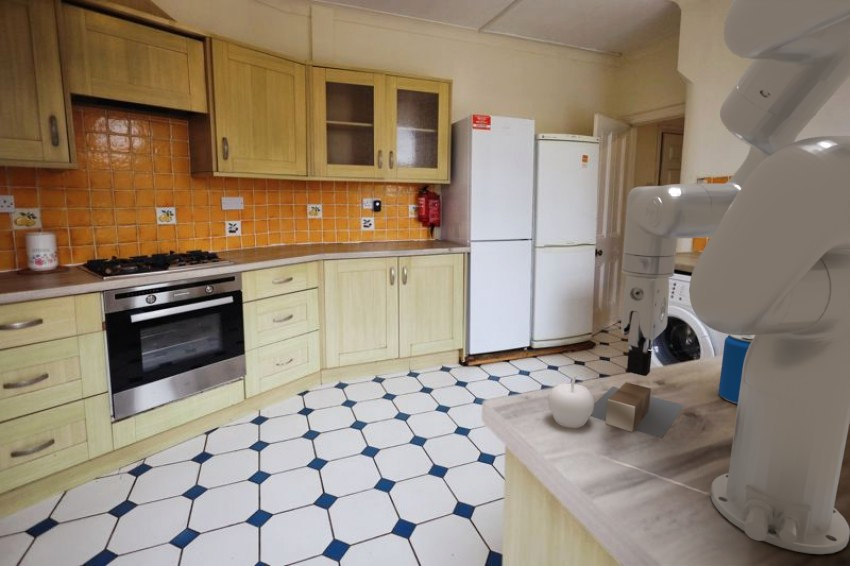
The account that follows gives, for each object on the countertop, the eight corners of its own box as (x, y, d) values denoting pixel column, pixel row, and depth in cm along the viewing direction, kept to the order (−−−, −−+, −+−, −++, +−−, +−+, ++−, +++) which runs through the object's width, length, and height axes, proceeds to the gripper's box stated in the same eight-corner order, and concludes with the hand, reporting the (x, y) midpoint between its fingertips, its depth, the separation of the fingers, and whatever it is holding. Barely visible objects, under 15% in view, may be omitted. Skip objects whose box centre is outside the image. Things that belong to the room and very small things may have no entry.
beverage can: (724, 406, 79) (732, 340, 76) (713, 391, 85) (720, 329, 82) (768, 411, 77) (778, 343, 74) (753, 395, 83) (762, 331, 81)
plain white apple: (602, 427, 72) (606, 380, 71) (569, 438, 69) (571, 389, 67) (570, 409, 78) (572, 365, 77) (538, 419, 75) (539, 373, 74)
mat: (662, 440, 68) (662, 438, 68) (583, 415, 76) (583, 413, 76) (683, 407, 79) (683, 404, 78) (612, 388, 86) (612, 386, 86)
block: (648, 410, 77) (632, 431, 70) (624, 403, 79) (605, 423, 72) (650, 388, 76) (634, 407, 69) (625, 382, 78) (607, 400, 72)
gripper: (661, 274, 65) (650, 394, 69) (684, 261, 76) (673, 365, 80) (608, 268, 70) (599, 381, 73) (636, 257, 81) (628, 355, 85)
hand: (638, 372), depth 77 cm, fingers closed
